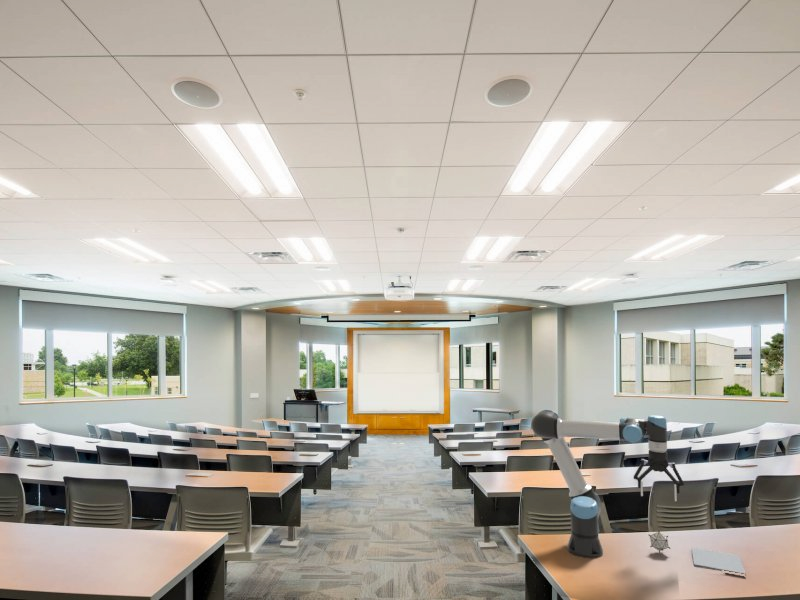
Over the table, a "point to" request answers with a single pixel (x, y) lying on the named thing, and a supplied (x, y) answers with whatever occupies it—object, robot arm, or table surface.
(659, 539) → the game die
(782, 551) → the table surface
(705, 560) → the board
